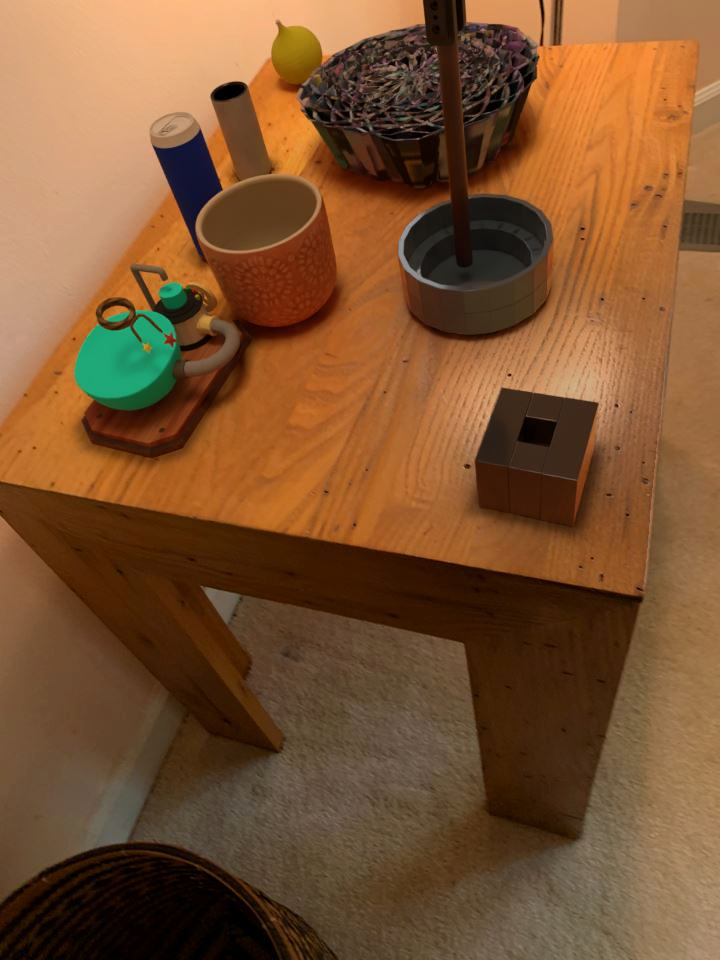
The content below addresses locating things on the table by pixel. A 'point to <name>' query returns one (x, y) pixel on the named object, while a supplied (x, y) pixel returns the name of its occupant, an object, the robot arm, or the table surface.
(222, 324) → the contraption on wooden base
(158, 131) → the beverage can
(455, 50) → the stirring stick
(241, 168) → the cardboard tube
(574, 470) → the holder
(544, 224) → the bowl
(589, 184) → the table surface
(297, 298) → the planter
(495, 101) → the decorative bowl
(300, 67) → the yellow oval fruit
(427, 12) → the robot arm
